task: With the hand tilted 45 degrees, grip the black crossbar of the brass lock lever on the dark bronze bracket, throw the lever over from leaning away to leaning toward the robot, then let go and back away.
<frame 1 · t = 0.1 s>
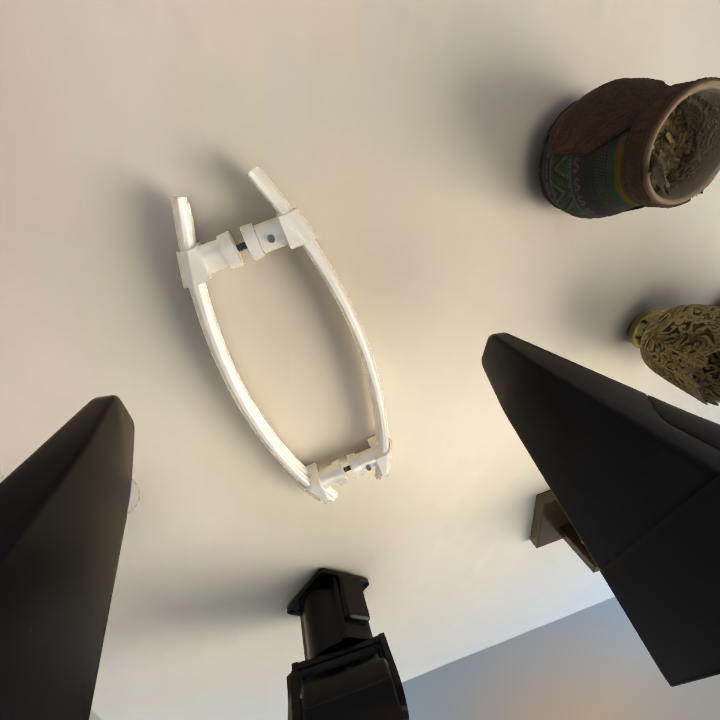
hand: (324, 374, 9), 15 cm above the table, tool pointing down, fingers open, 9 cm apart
door handle: (302, 365, 26), on the table
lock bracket: (569, 505, 43), on the table
lock lever: (634, 556, 37), point 7 cm above the table, hinge at 115.0°
cup: (639, 325, 33), on the table
mate gourd: (564, 160, 24), on the table
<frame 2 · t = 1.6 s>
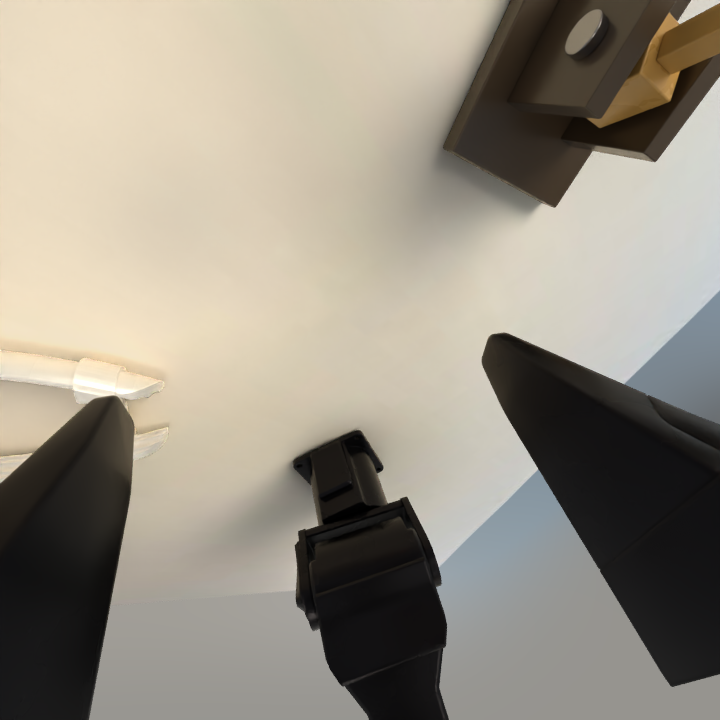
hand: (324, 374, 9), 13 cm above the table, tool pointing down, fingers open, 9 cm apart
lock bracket: (552, 76, 18), on the table
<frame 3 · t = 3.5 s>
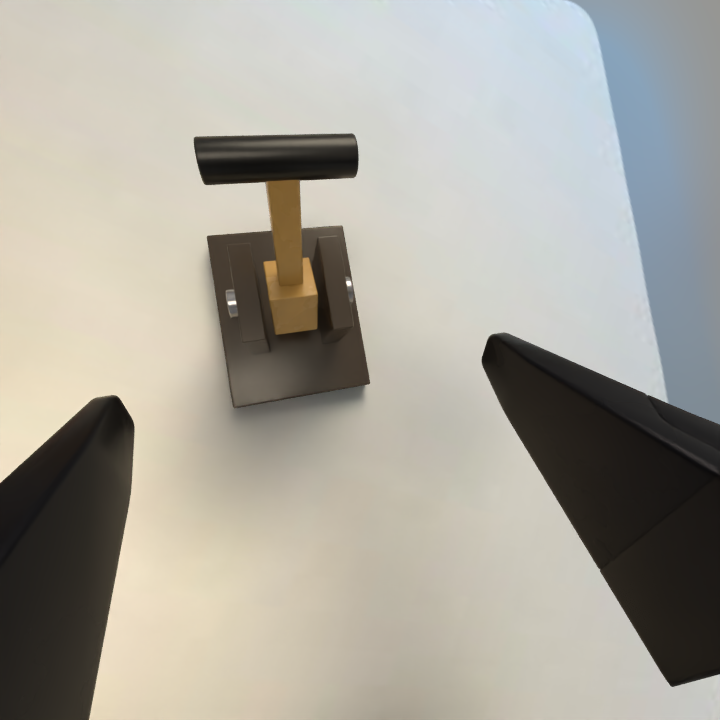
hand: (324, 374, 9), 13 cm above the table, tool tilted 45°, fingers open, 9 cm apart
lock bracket: (290, 315, 22), on the table
lock lever: (287, 248, 15), point 7 cm above the table, hinge at 115.0°
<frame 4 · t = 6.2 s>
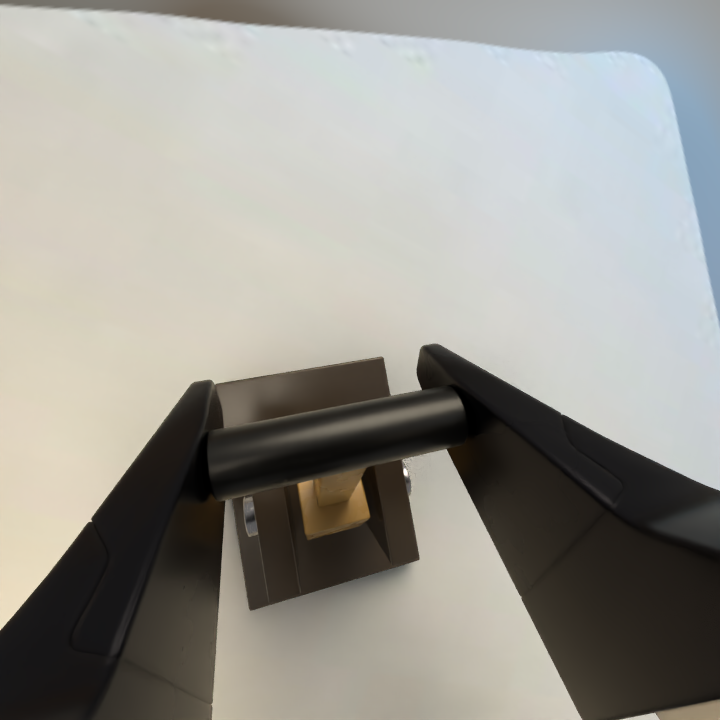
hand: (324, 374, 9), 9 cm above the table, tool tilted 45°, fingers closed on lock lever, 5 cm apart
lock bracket: (318, 470, 18), on the table
lock lever: (333, 478, 11), point 7 cm above the table, hinge at 115.0°, touching gripper
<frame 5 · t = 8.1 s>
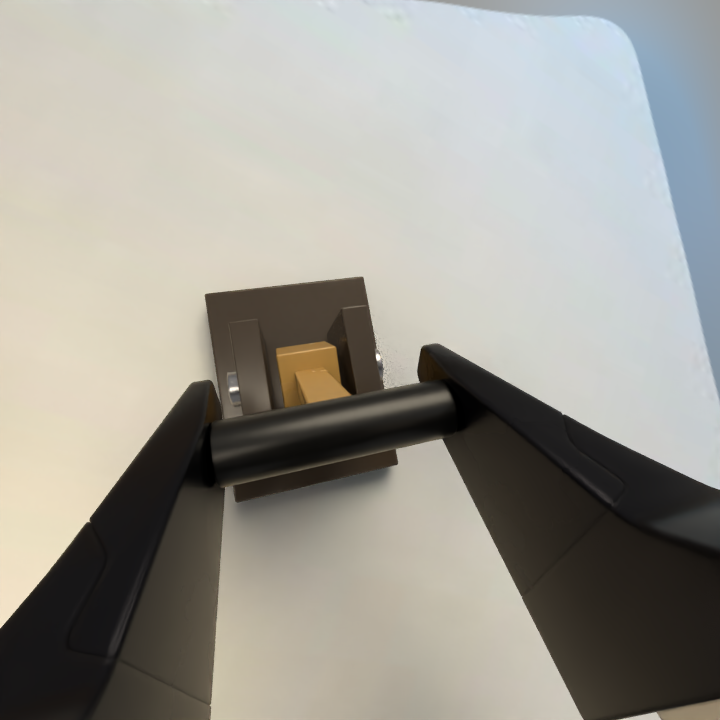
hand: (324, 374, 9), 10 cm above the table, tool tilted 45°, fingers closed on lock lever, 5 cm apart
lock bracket: (303, 382, 19), on the table
lock lever: (317, 392, 11), point 8 cm above the table, hinge at 76.2°, touching gripper
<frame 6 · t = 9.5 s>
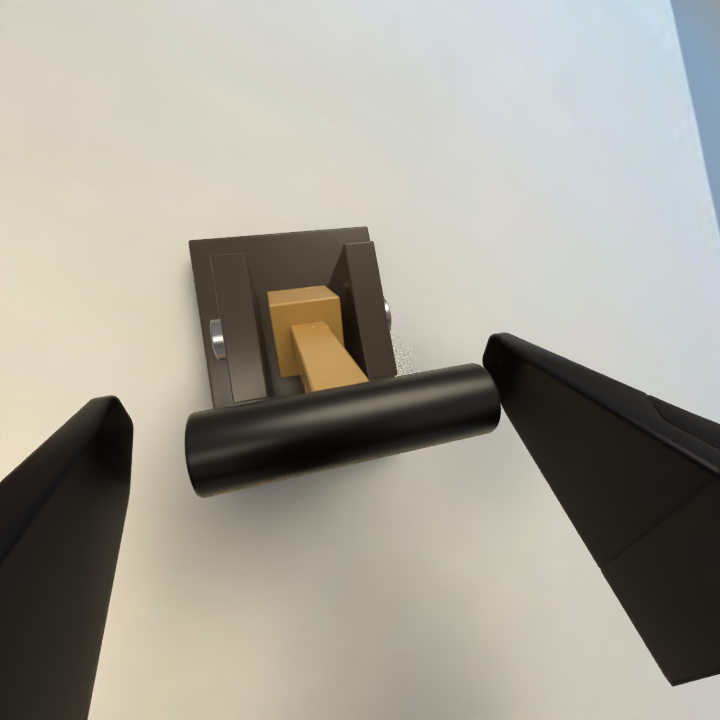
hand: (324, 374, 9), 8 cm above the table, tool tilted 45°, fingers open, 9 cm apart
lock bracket: (299, 344, 17), on the table
lock lever: (317, 355, 10), point 7 cm above the table, hinge at 66.0°
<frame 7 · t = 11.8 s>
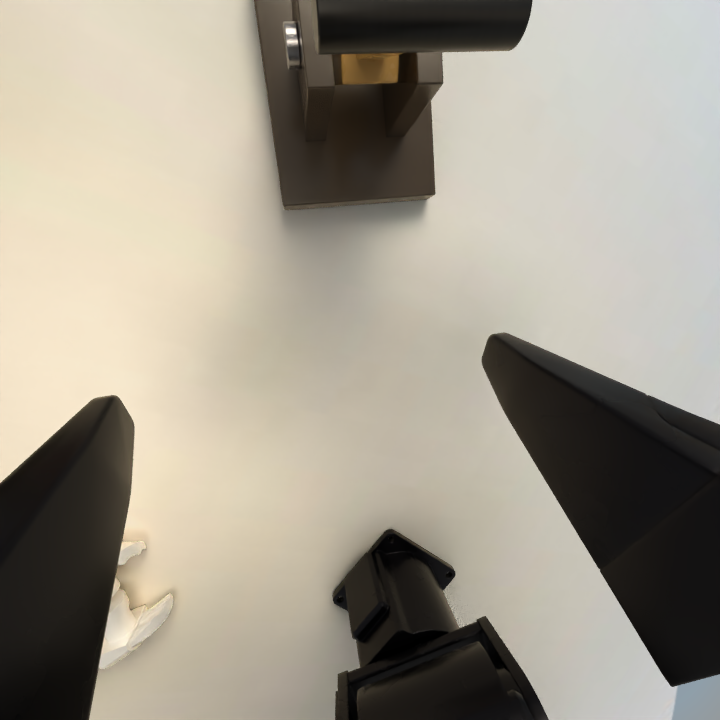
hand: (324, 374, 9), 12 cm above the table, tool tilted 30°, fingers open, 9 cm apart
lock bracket: (348, 100, 18), on the table
lock lever: (381, 35, 11), point 7 cm above the table, hinge at 66.0°
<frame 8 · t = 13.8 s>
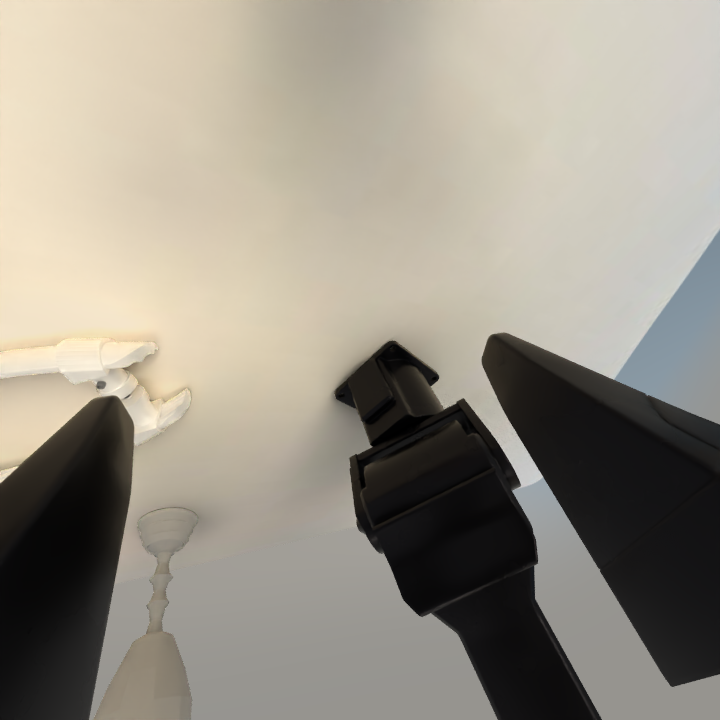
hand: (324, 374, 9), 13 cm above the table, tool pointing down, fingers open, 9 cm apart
chalice: (168, 520, 33), on the table
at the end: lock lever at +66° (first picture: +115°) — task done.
